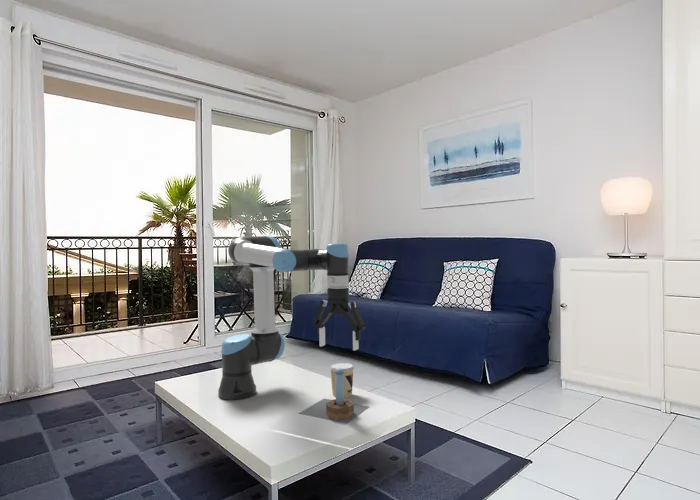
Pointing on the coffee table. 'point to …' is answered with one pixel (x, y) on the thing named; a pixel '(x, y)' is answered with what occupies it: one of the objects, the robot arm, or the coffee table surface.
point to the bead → (340, 410)
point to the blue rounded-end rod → (339, 387)
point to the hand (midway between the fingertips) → (338, 347)
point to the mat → (320, 411)
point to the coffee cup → (346, 378)
